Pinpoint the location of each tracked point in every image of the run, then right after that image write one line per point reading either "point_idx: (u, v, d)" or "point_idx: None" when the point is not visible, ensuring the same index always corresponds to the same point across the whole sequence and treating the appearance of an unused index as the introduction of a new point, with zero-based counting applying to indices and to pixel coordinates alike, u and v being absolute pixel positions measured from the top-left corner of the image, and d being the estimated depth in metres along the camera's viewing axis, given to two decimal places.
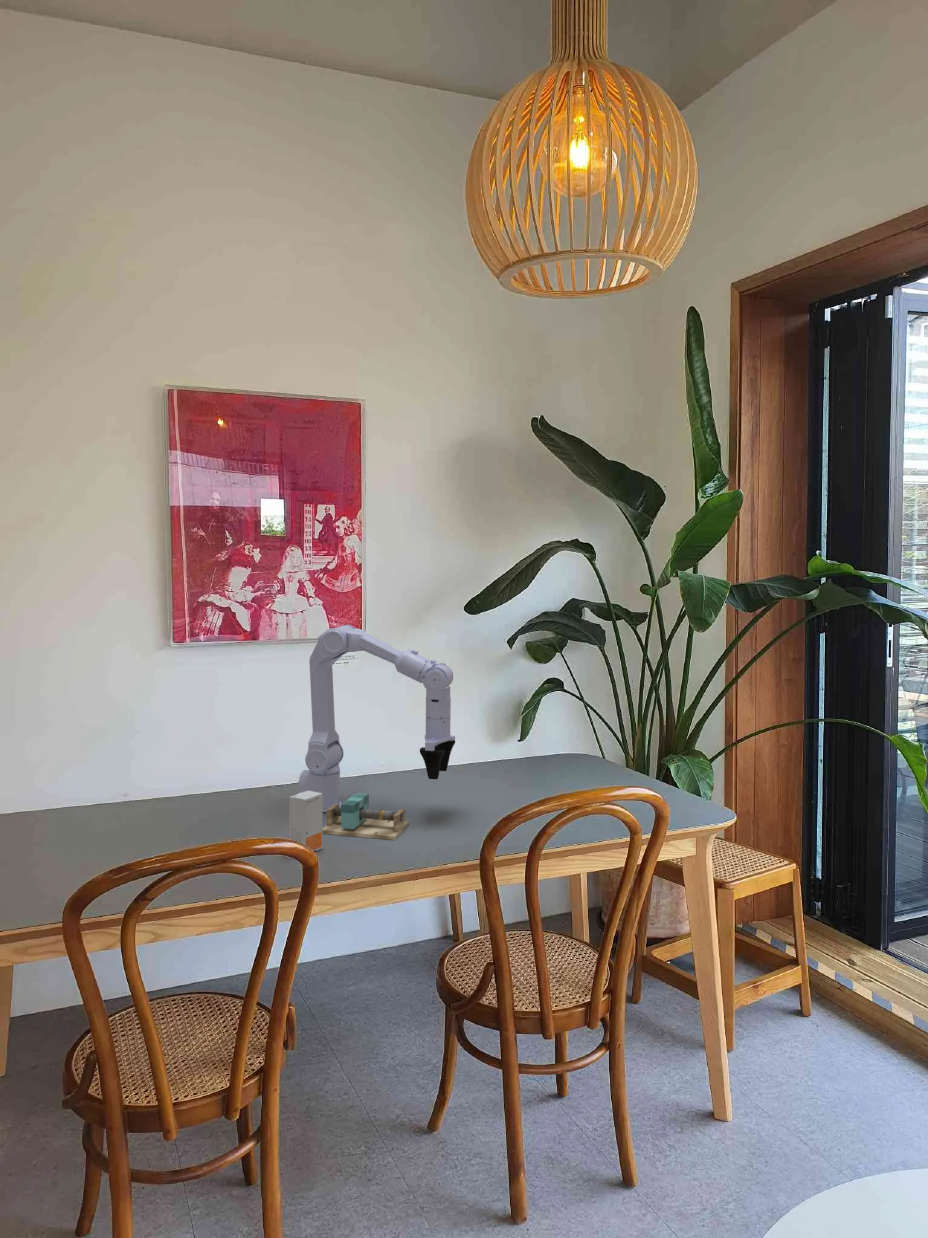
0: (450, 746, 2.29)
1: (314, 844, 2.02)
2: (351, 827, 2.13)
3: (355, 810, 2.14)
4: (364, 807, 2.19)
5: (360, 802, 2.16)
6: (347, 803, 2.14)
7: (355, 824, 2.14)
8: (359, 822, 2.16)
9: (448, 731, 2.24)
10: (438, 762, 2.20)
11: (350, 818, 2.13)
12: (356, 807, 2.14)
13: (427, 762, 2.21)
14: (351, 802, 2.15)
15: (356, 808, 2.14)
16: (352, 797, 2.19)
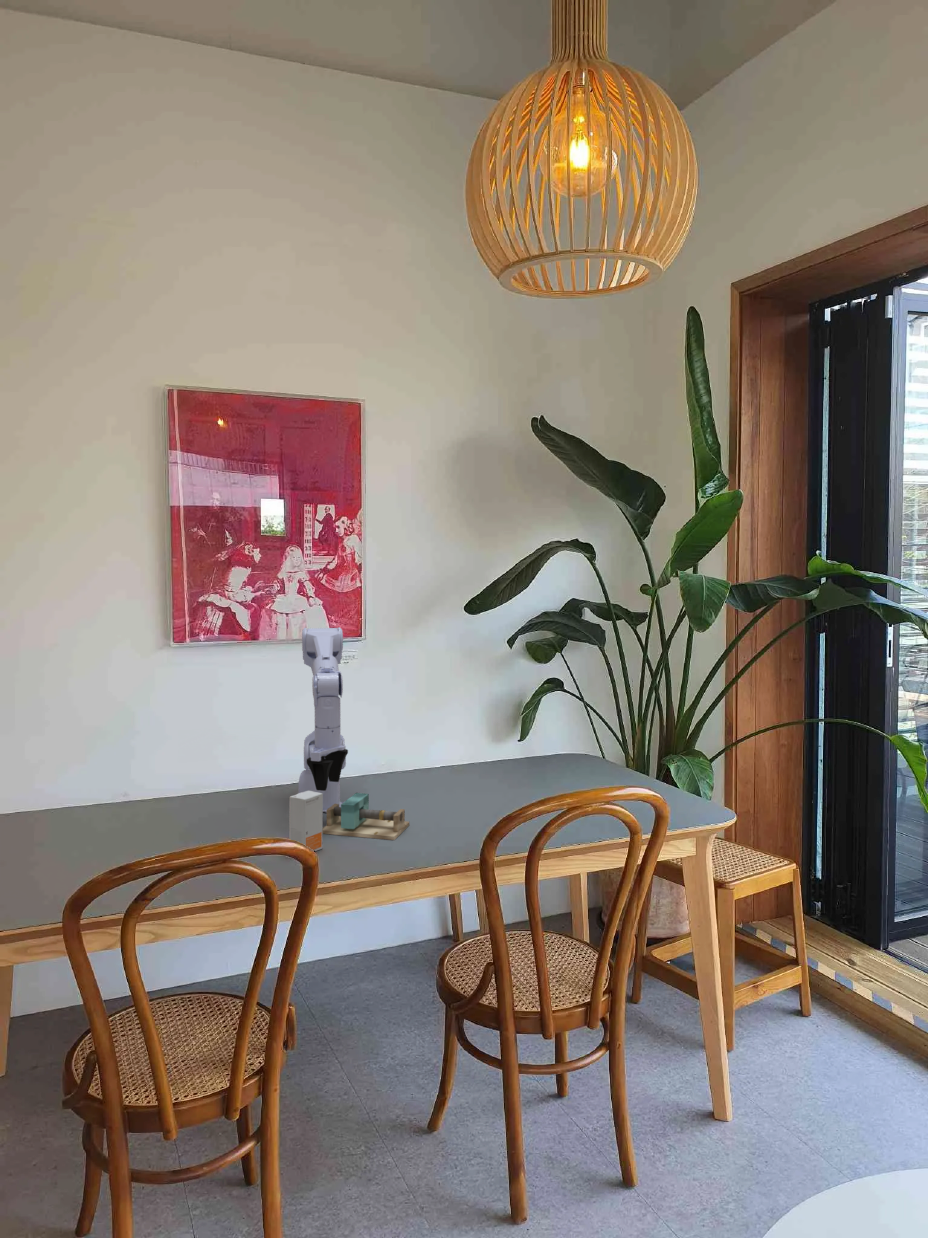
0: (342, 756, 2.21)
1: (314, 844, 2.02)
2: (351, 827, 2.13)
3: (355, 810, 2.14)
4: (364, 807, 2.19)
5: (360, 802, 2.16)
6: (347, 803, 2.14)
7: (355, 824, 2.14)
8: (359, 822, 2.16)
9: (337, 741, 2.16)
10: (325, 773, 2.13)
11: (350, 818, 2.13)
12: (356, 807, 2.14)
13: (314, 773, 2.14)
14: (351, 802, 2.15)
15: (356, 808, 2.14)
16: (352, 797, 2.19)
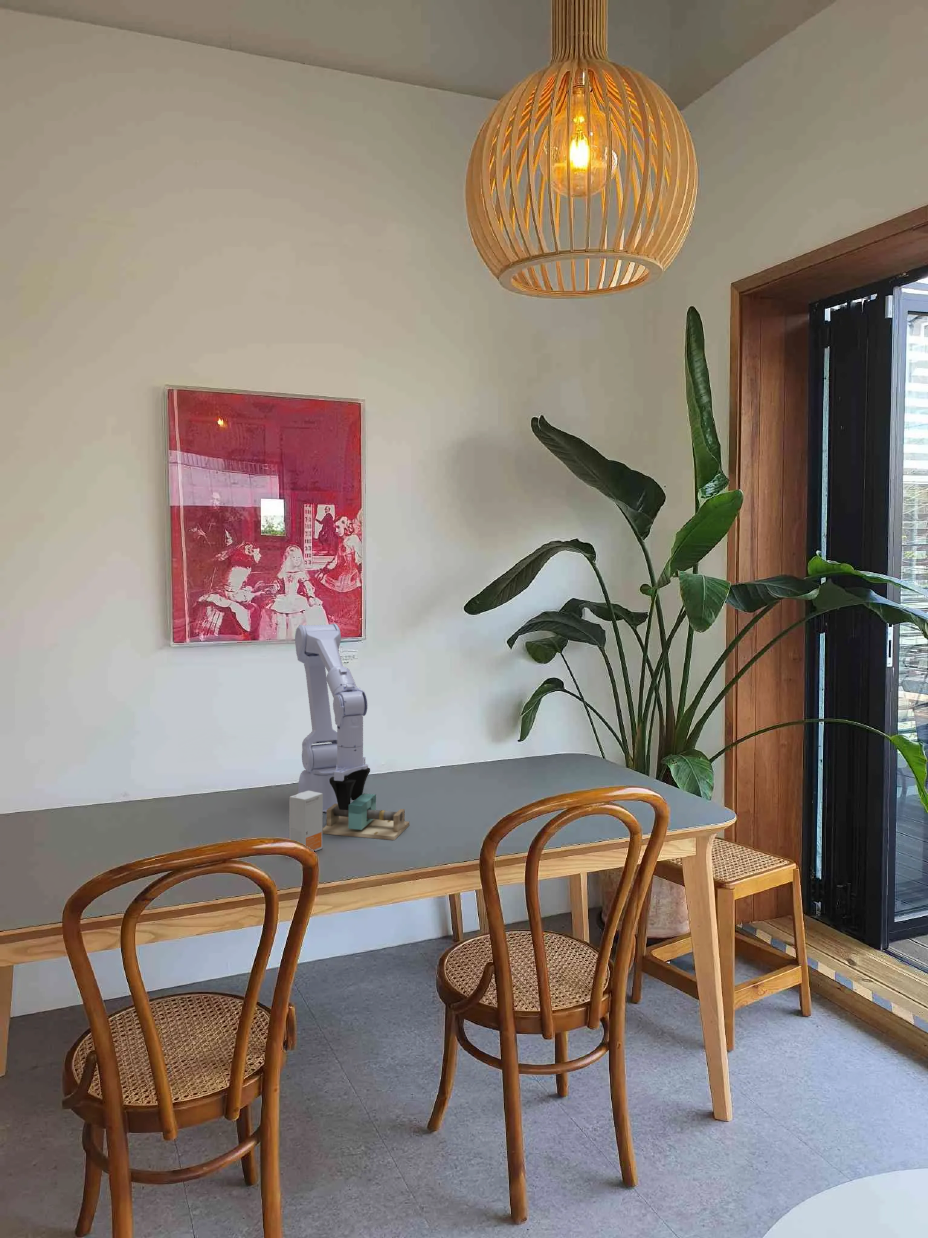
0: (364, 775, 2.20)
1: (314, 844, 2.02)
2: (359, 828, 2.13)
3: (363, 811, 2.13)
4: (371, 808, 2.19)
5: (367, 802, 2.16)
6: (354, 803, 2.14)
7: (363, 825, 2.13)
8: (366, 823, 2.16)
9: (360, 760, 2.15)
10: (348, 792, 2.12)
11: (358, 819, 2.13)
12: (363, 808, 2.14)
13: (337, 792, 2.13)
14: (359, 803, 2.14)
15: (364, 808, 2.14)
16: (359, 798, 2.18)
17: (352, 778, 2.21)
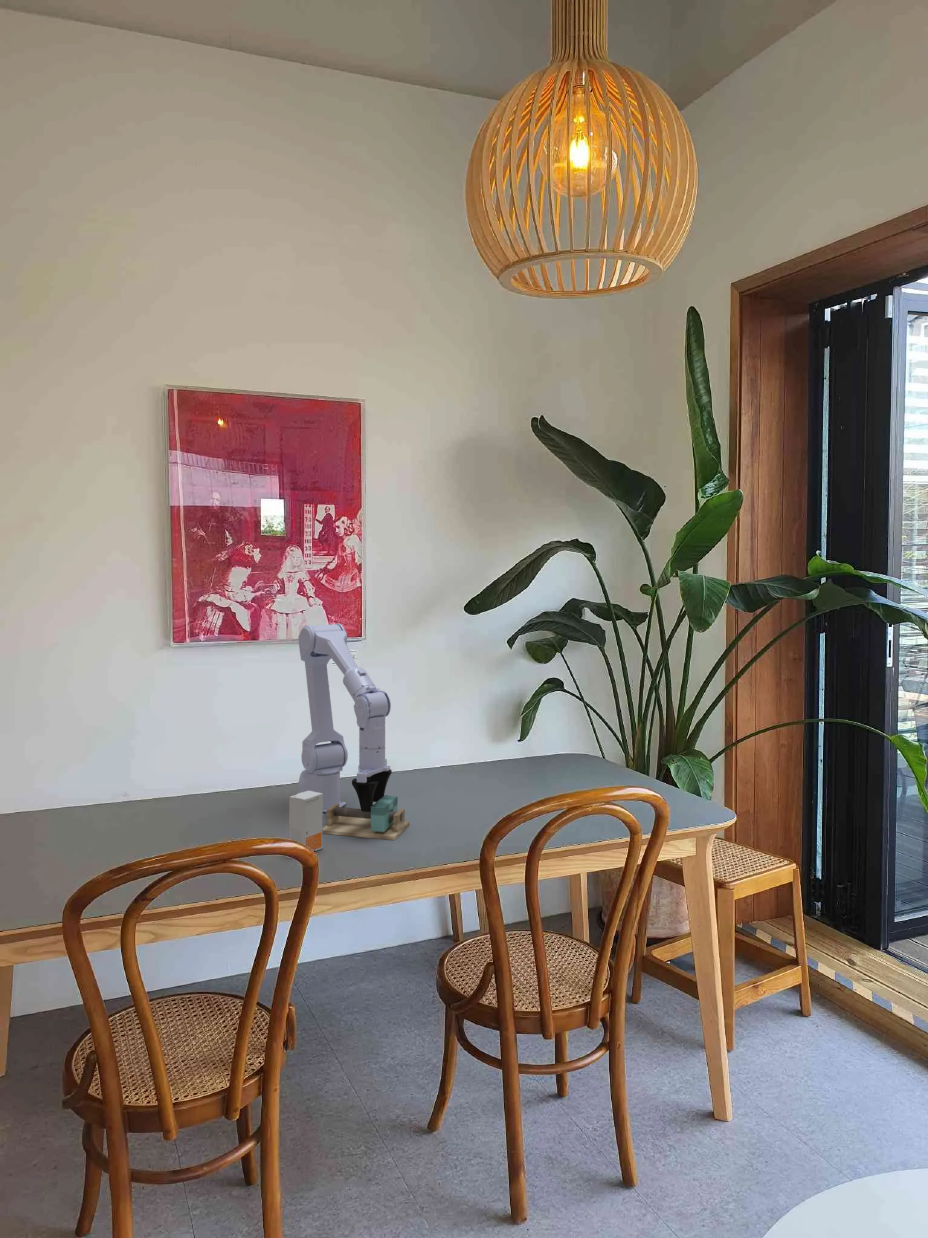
0: (386, 776, 2.19)
1: (314, 844, 2.02)
2: (381, 830, 2.11)
3: (385, 813, 2.12)
4: (393, 809, 2.18)
5: (389, 804, 2.15)
6: (377, 805, 2.13)
7: (385, 827, 2.12)
8: (389, 825, 2.15)
9: (382, 761, 2.14)
10: (371, 794, 2.11)
11: (380, 821, 2.11)
12: (386, 810, 2.12)
13: (360, 794, 2.12)
14: (381, 805, 2.13)
15: (386, 810, 2.13)
16: (381, 799, 2.17)
17: (374, 780, 2.20)
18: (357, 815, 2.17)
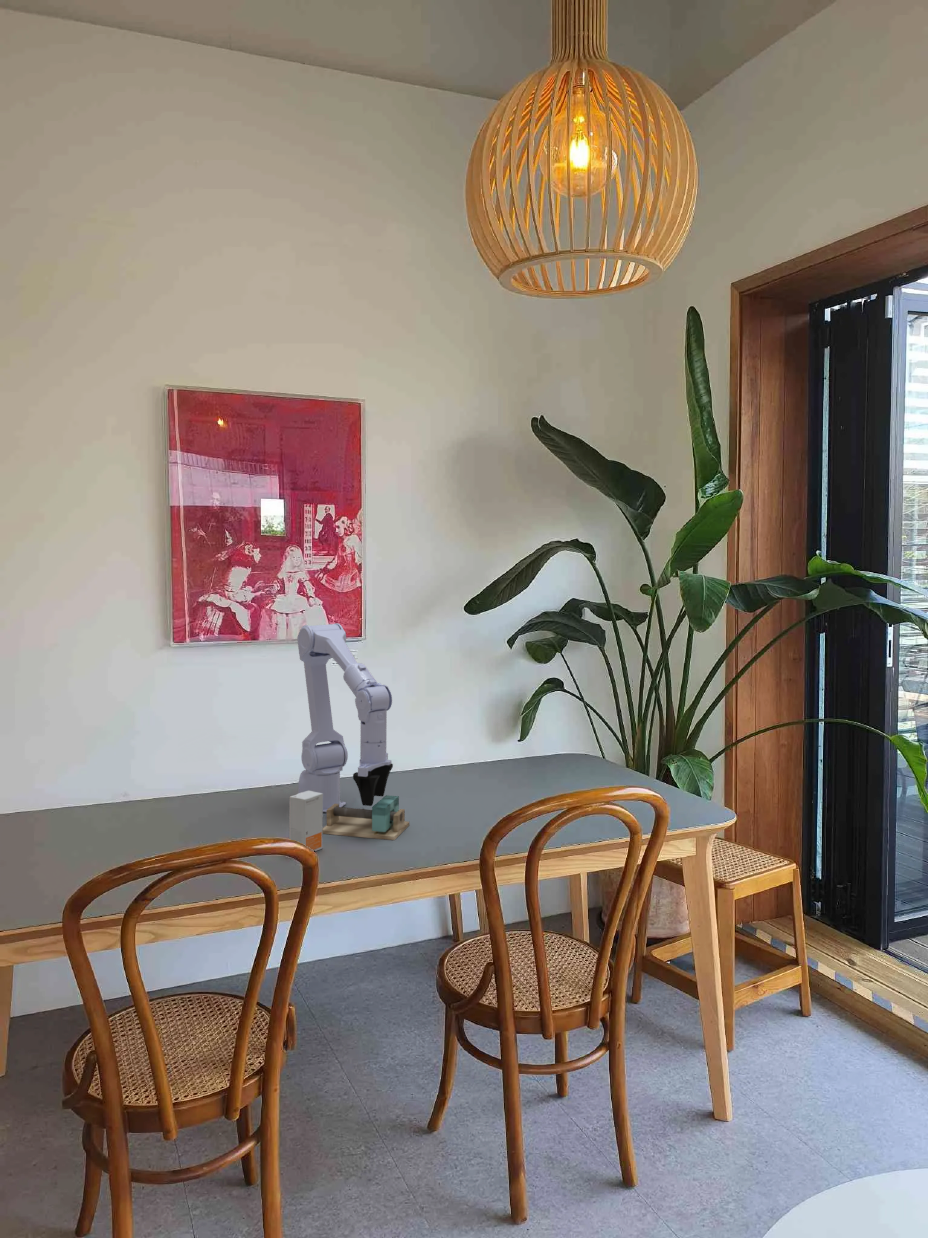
0: (387, 770, 2.19)
1: (314, 844, 2.02)
2: (382, 830, 2.11)
3: (386, 813, 2.12)
4: (394, 810, 2.18)
5: (391, 804, 2.15)
6: (378, 805, 2.13)
7: (386, 827, 2.12)
8: (390, 825, 2.15)
9: (383, 755, 2.14)
10: (372, 788, 2.11)
11: (381, 821, 2.11)
12: (387, 810, 2.12)
13: (361, 788, 2.12)
14: (382, 805, 2.13)
15: (388, 810, 2.13)
16: (382, 799, 2.17)
17: (375, 774, 2.20)
18: (357, 815, 2.17)
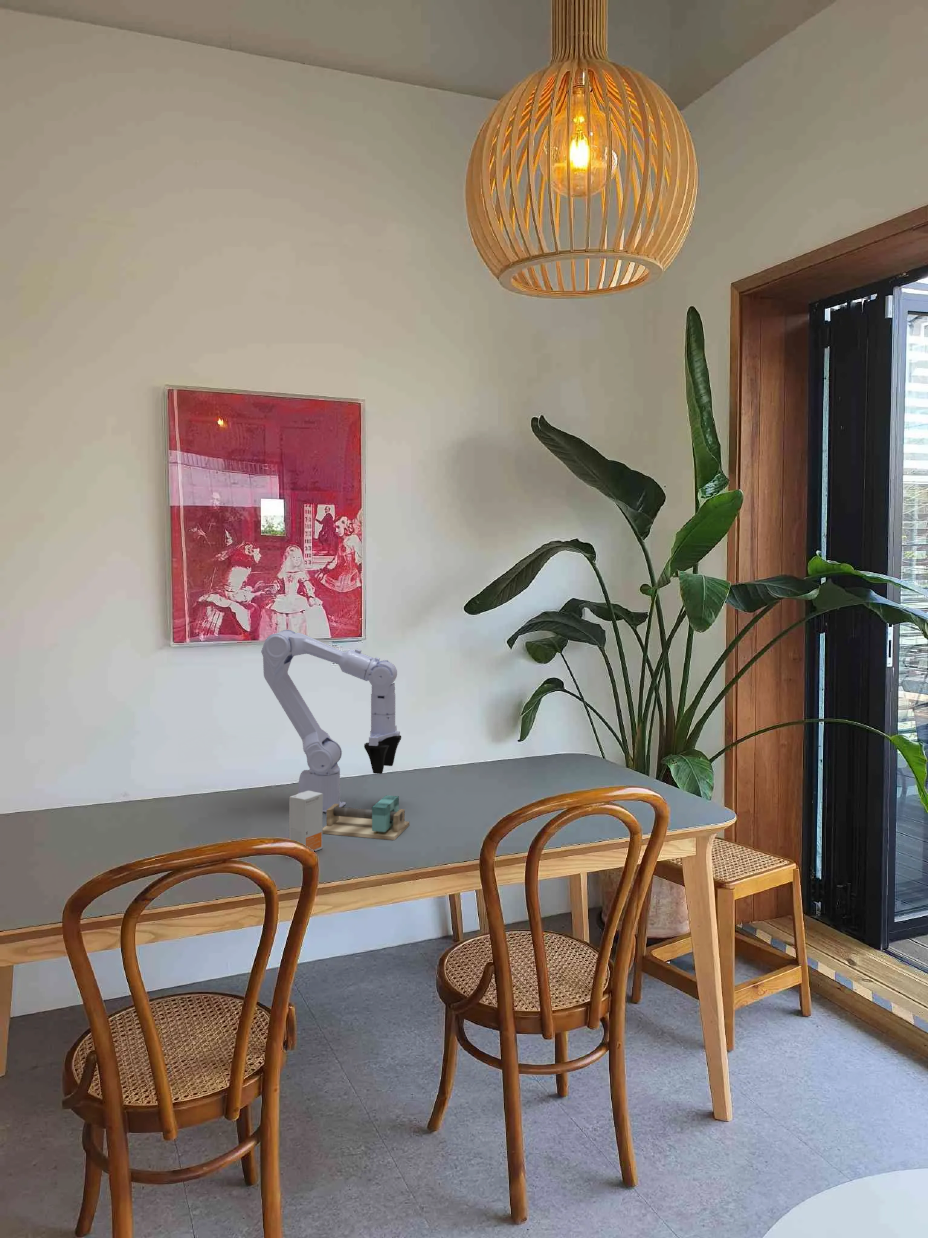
0: (396, 741, 2.34)
1: (314, 844, 2.02)
2: (382, 830, 2.11)
3: (386, 813, 2.12)
4: (394, 810, 2.18)
5: (391, 804, 2.15)
6: (378, 805, 2.13)
7: (386, 827, 2.12)
8: (390, 825, 2.15)
9: (393, 727, 2.29)
10: (382, 757, 2.26)
11: (381, 821, 2.11)
12: (387, 810, 2.12)
13: (372, 757, 2.27)
14: (382, 805, 2.13)
15: (388, 810, 2.13)
16: (382, 799, 2.17)
17: (384, 745, 2.35)
18: (357, 815, 2.17)
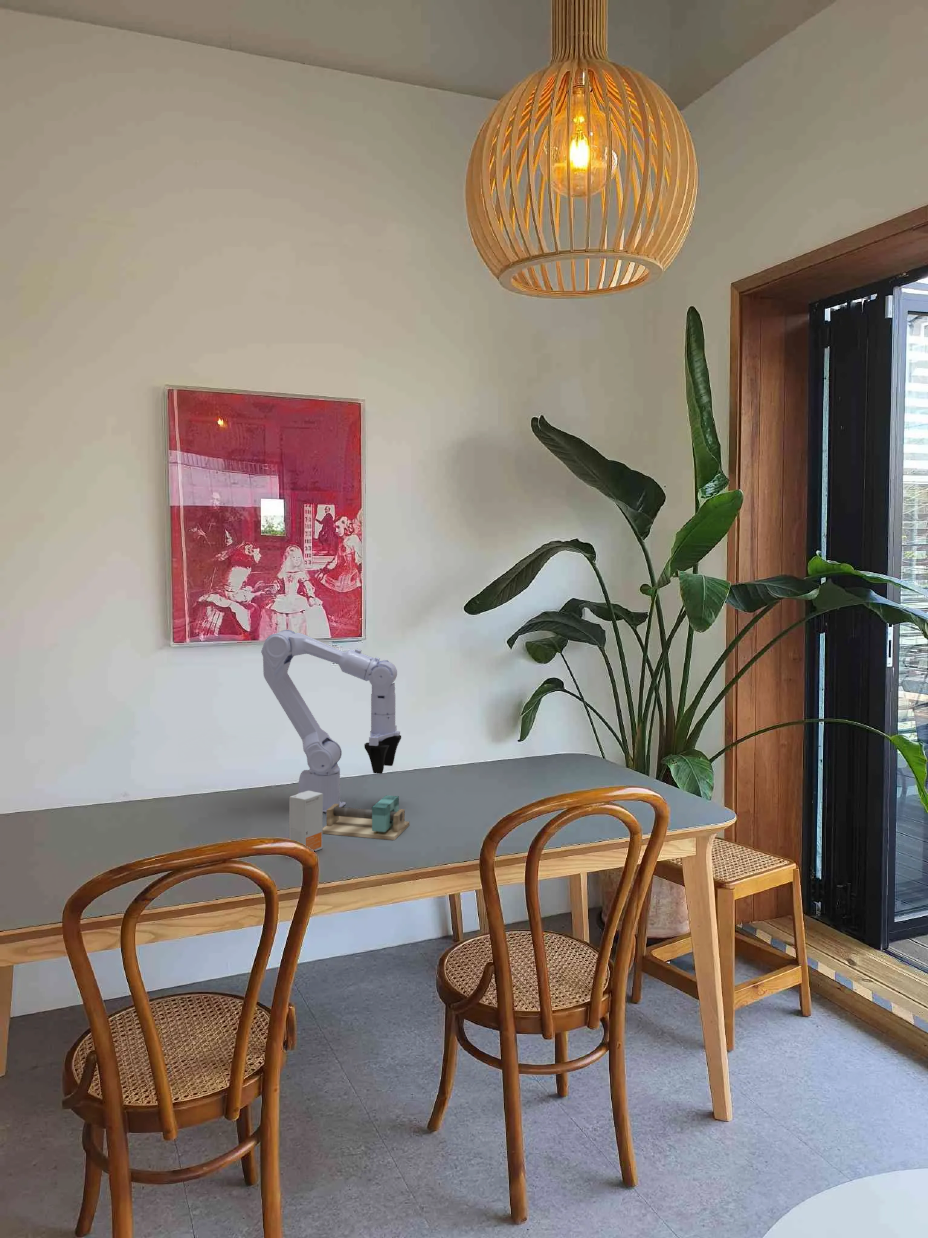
0: (396, 741, 2.34)
1: (314, 844, 2.02)
2: (382, 830, 2.11)
3: (386, 813, 2.12)
4: (394, 810, 2.18)
5: (391, 804, 2.15)
6: (378, 805, 2.13)
7: (386, 827, 2.12)
8: (390, 825, 2.15)
9: (393, 727, 2.29)
10: (382, 757, 2.26)
11: (381, 821, 2.11)
12: (387, 810, 2.12)
13: (372, 757, 2.27)
14: (382, 805, 2.13)
15: (388, 810, 2.13)
16: (382, 799, 2.17)
17: (384, 745, 2.35)
18: (357, 815, 2.17)
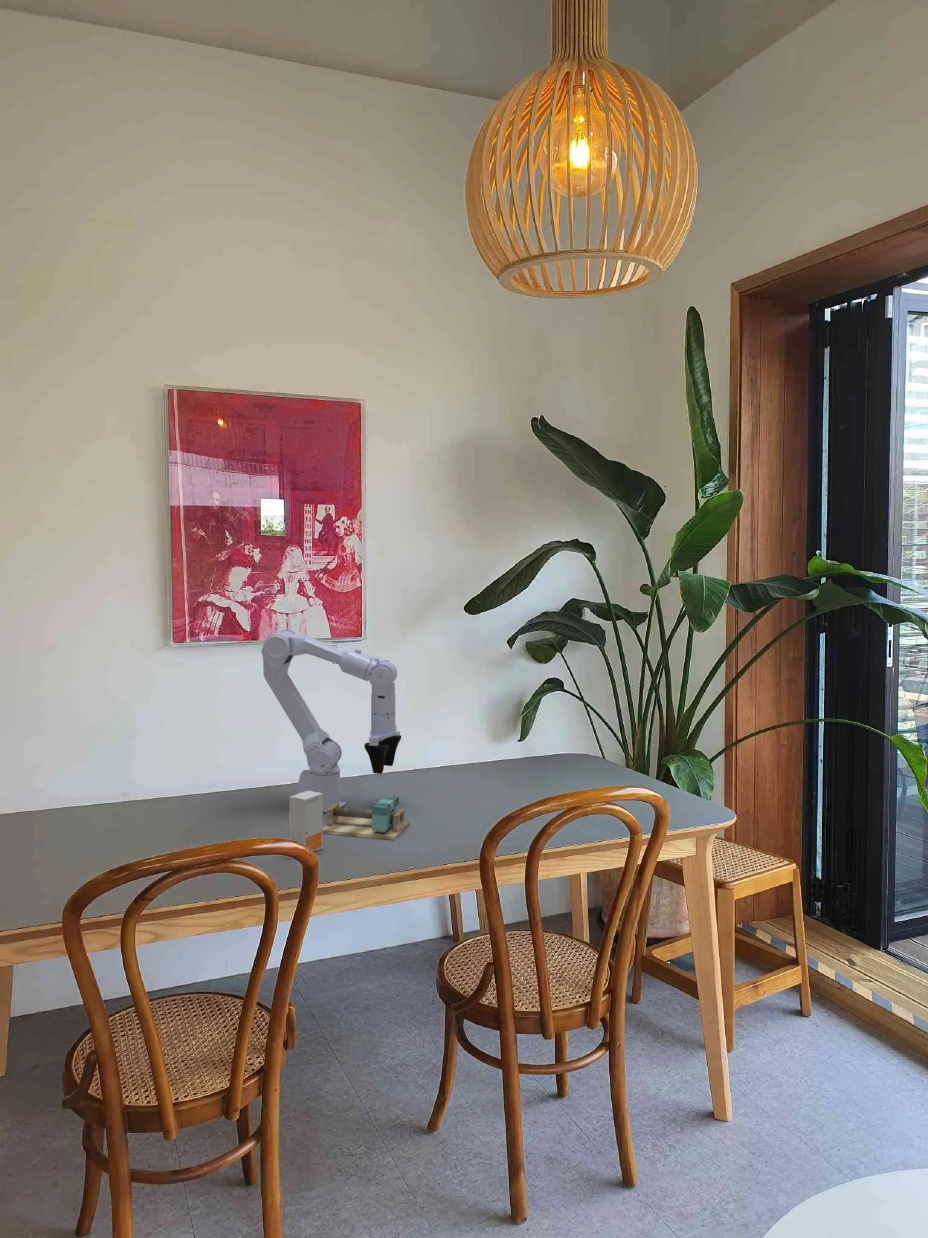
0: (396, 741, 2.34)
1: (314, 844, 2.02)
2: (382, 830, 2.11)
3: (386, 813, 2.12)
4: (394, 810, 2.18)
5: (391, 804, 2.15)
6: (378, 805, 2.13)
7: (386, 827, 2.12)
8: (390, 825, 2.15)
9: (393, 727, 2.29)
10: (382, 757, 2.26)
11: (381, 821, 2.11)
12: (387, 810, 2.12)
13: (372, 757, 2.27)
14: (382, 805, 2.13)
15: (388, 810, 2.13)
16: (382, 799, 2.17)
17: (384, 745, 2.35)
18: (357, 815, 2.17)
